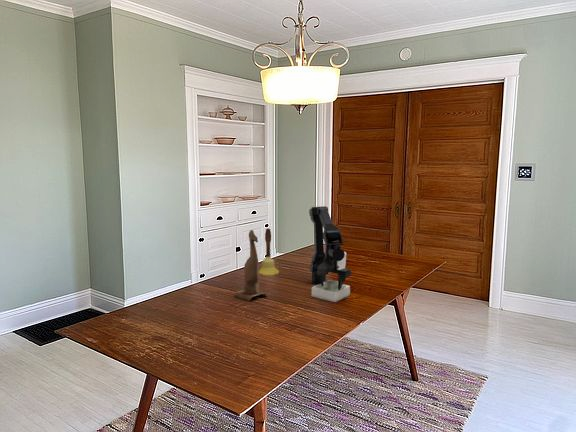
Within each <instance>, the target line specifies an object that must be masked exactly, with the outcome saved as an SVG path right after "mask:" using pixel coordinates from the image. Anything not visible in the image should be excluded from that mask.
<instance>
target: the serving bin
mask: <svg viewBox="0 0 576 432" xmlns="http://www.w3.org/2000/svg"><path fill="white" fill-rule="evenodd" d="M349 296H351V286H350V285H347V284H343V285H342V287H341V289H340V290H338V291H335V292H333V291H329V290H324V289H323V286H322V285H321V284H315V285H314V286H311V297H312V298H317V299H319V300H320V299H321V300H323V301H326V302H327V301H329V302H331V303H337V302H339V301H341V300H342V299H345V298H347V297H349Z"/></svg>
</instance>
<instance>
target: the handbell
mask: <svg viewBox="0 0 576 432" xmlns="http://www.w3.org/2000/svg"><path fill="white" fill-rule="evenodd" d="M264 240H265V247H266V249H265V252H266V253H265V255H266V257H265V258H264V259H262V263H261V264H262V266H261V268H260V269H259V273H260V274H263V275H262V276H276V275H278V274H279V273H280V271H279V270H278V269H277V268H276V266H275V260H274V259H273V258H271V243H272V242H271V241H272V232H271V228H266V229H265V234H264ZM260 274H259V275H260ZM275 274H276V275H275Z"/></svg>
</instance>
